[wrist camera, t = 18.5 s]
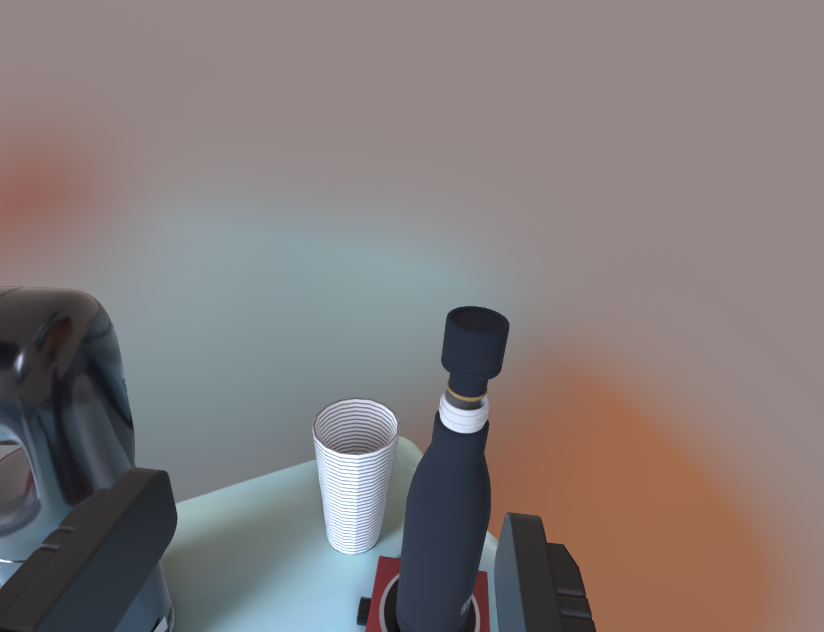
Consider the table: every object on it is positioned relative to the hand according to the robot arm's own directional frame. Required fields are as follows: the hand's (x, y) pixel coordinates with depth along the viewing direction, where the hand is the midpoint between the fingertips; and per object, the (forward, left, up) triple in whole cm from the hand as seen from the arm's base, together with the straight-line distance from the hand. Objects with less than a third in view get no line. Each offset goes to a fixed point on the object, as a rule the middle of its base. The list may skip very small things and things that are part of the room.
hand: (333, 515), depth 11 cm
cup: (-5, +27, -36) cm, 45 cm away
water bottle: (+4, +18, -33) cm, 38 cm away
